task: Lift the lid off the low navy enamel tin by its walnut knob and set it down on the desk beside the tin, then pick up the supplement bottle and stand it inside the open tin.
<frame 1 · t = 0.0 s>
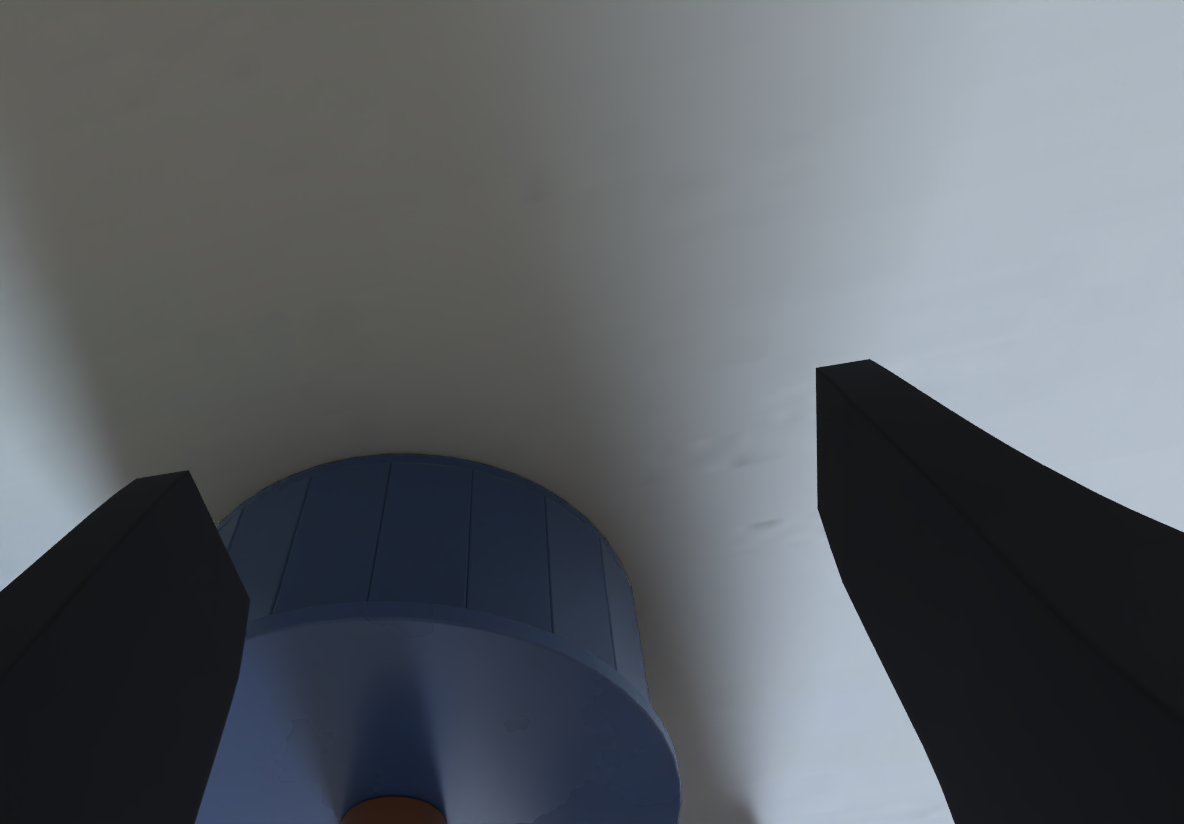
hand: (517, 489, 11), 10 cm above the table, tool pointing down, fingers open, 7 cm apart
tin lid: (396, 807, 21), point 5 cm above the table, touching tin
tin: (415, 633, 26), on the table
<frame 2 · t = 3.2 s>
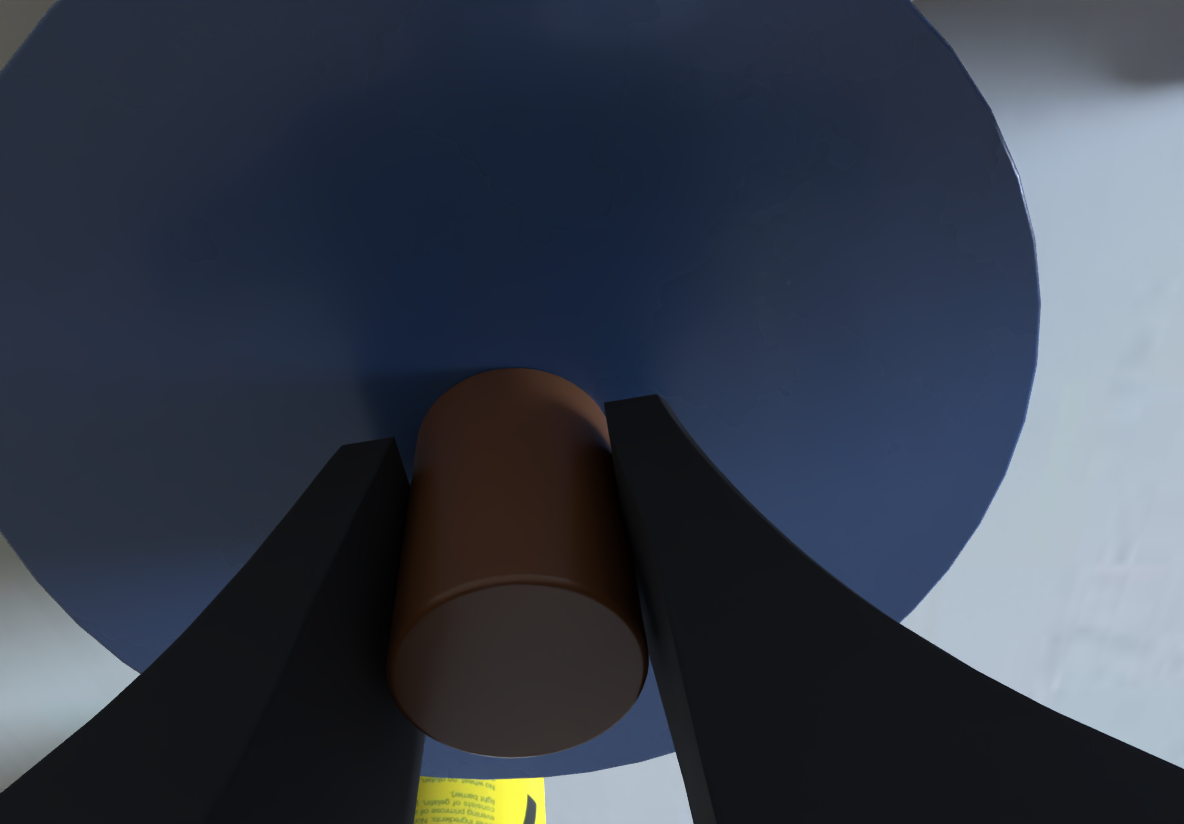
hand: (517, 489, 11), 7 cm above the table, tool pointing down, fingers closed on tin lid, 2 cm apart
supplement bottle: (448, 735, 24), on the table
tin lid: (515, 427, 12), point 5 cm above the table, touching gripper, tin
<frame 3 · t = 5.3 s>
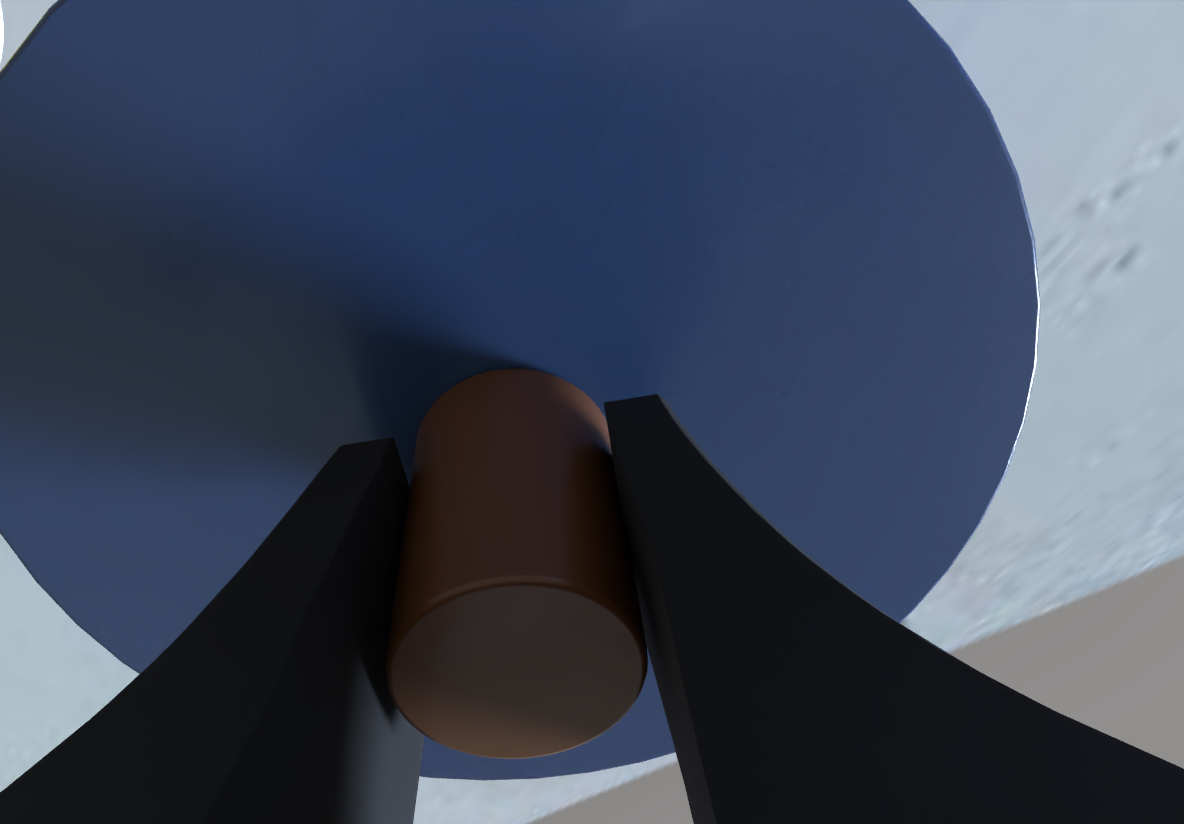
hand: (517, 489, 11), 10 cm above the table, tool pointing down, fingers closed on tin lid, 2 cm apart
tin lid: (514, 427, 12), point 9 cm above the table, touching gripper
when the fingers open (2 cm above the table, at t = 7.6 s): tin lid stays where it is, point 1 cm above the table.
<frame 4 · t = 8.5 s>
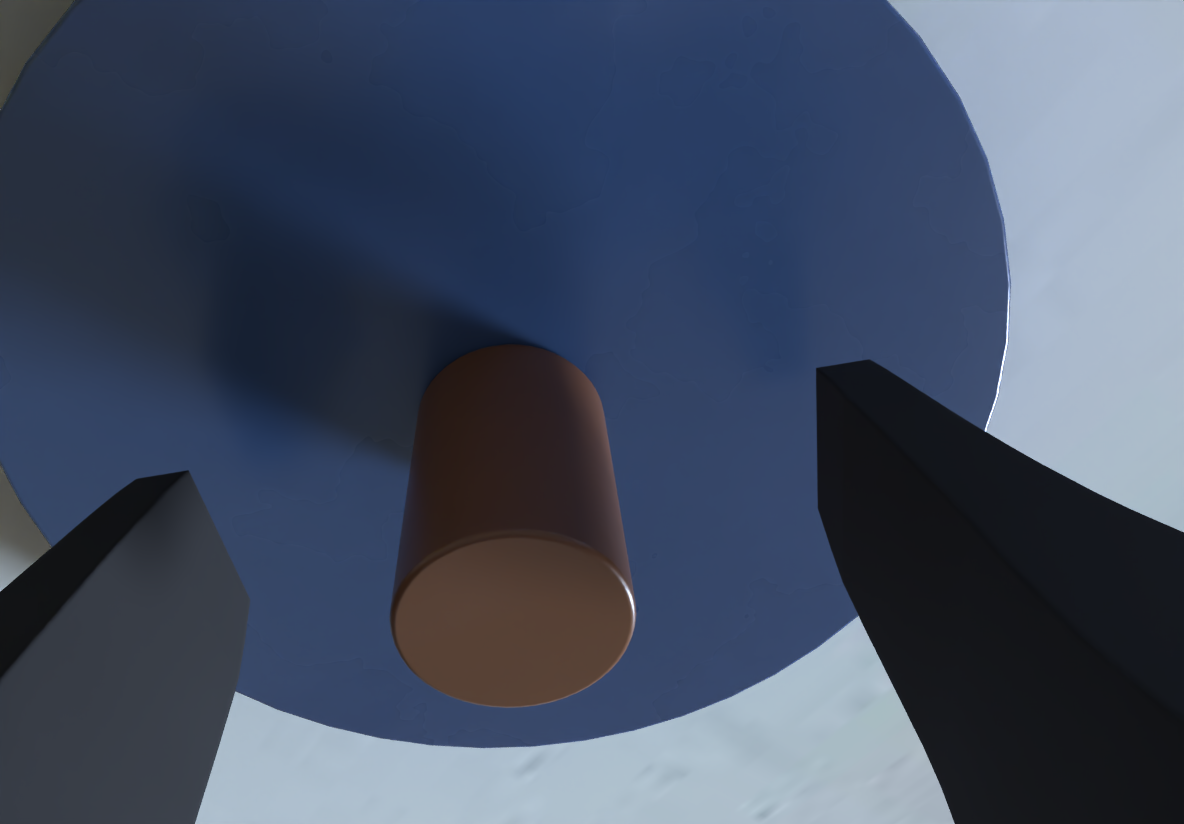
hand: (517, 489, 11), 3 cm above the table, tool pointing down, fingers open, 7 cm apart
tin lid: (511, 403, 13), point 1 cm above the table
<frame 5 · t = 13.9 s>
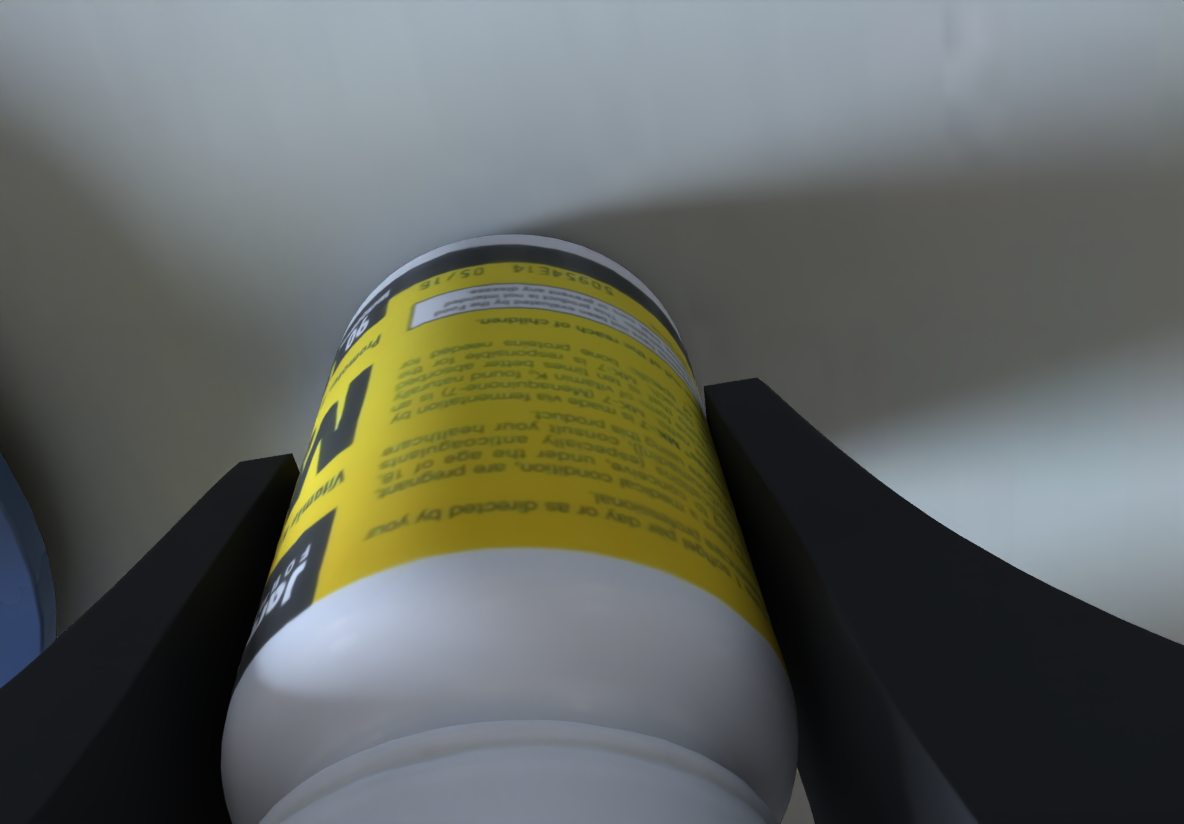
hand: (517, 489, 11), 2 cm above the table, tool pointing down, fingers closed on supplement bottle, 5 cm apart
supplement bottle: (513, 383, 13), on the table, touching gripper
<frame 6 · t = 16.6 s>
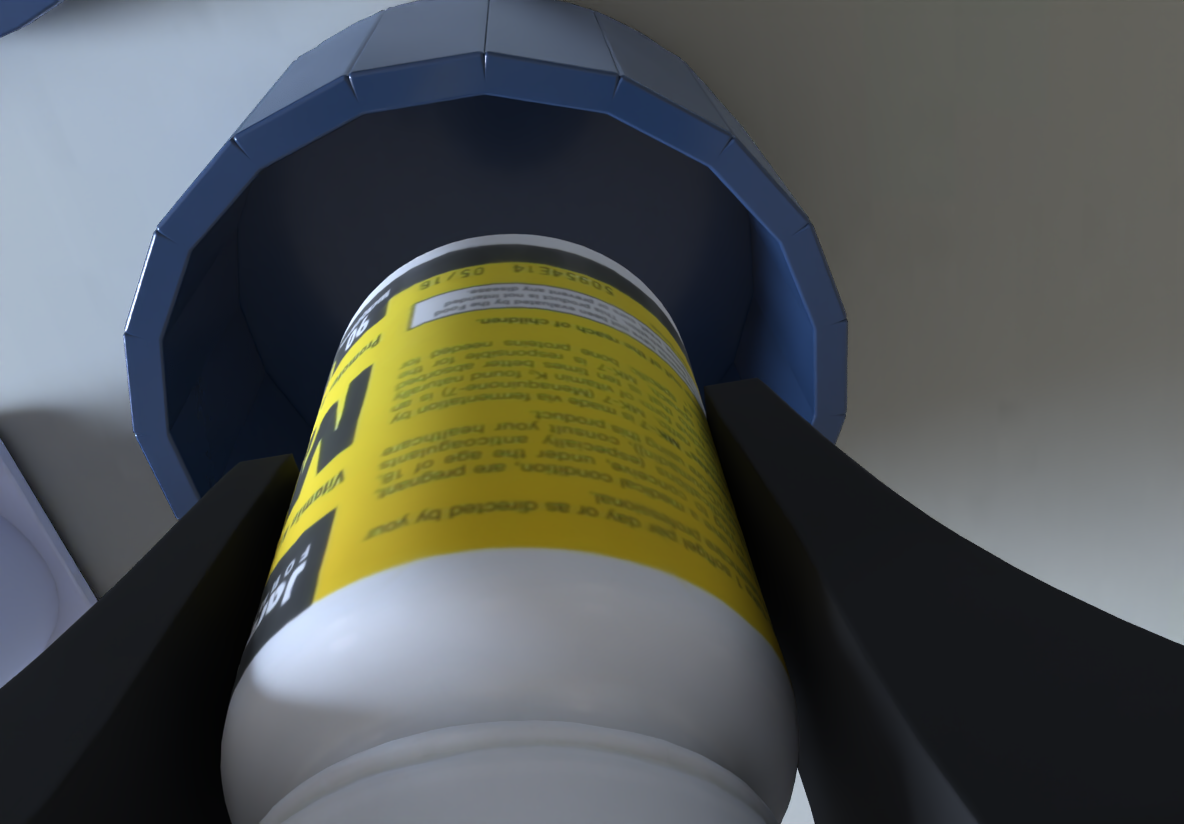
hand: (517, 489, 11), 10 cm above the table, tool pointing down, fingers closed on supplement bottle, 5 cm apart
supplement bottle: (513, 383, 13), point 8 cm above the table, touching gripper
tin: (501, 289, 21), on the table
when the fingers open (3 cm above the table, at t = 19.2 s): supplement bottle stays where it is, resting on tin.
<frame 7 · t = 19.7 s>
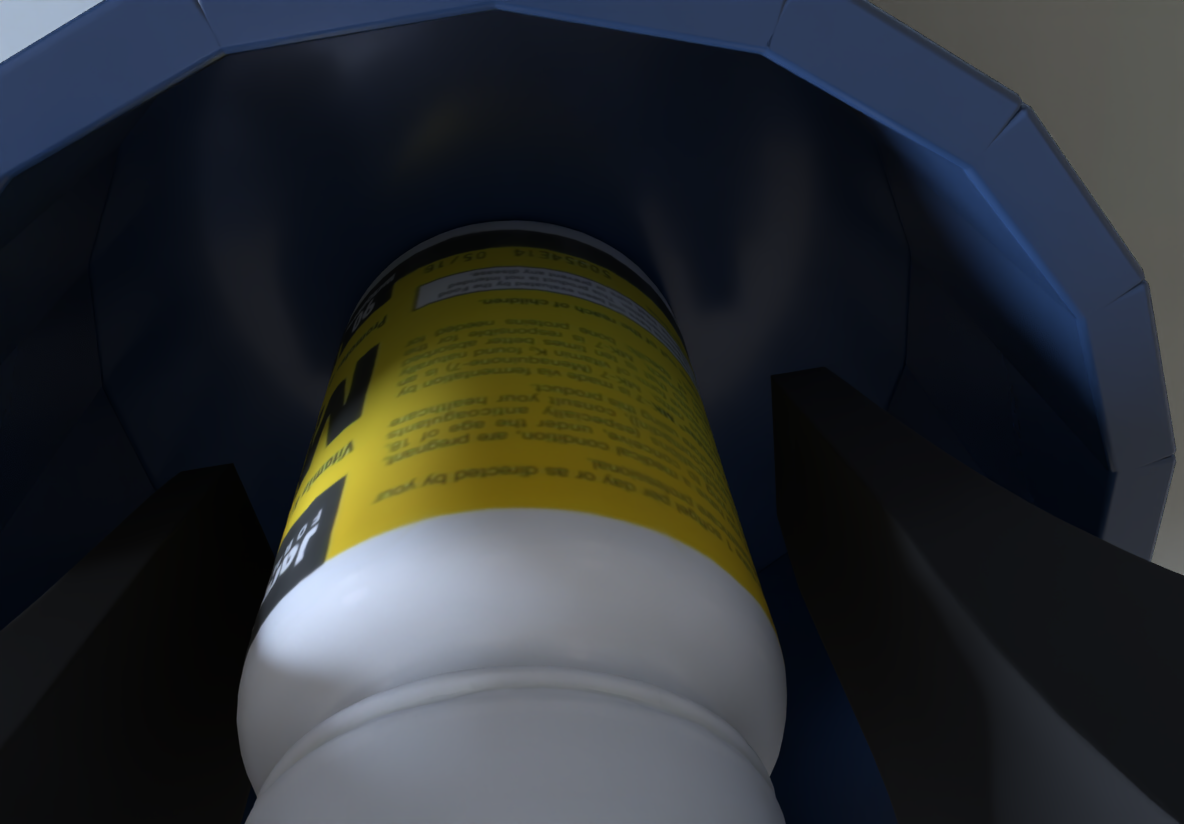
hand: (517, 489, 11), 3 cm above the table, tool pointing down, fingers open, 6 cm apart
supplement bottle: (514, 366, 13), resting on tin
tin: (516, 358, 13), on the table
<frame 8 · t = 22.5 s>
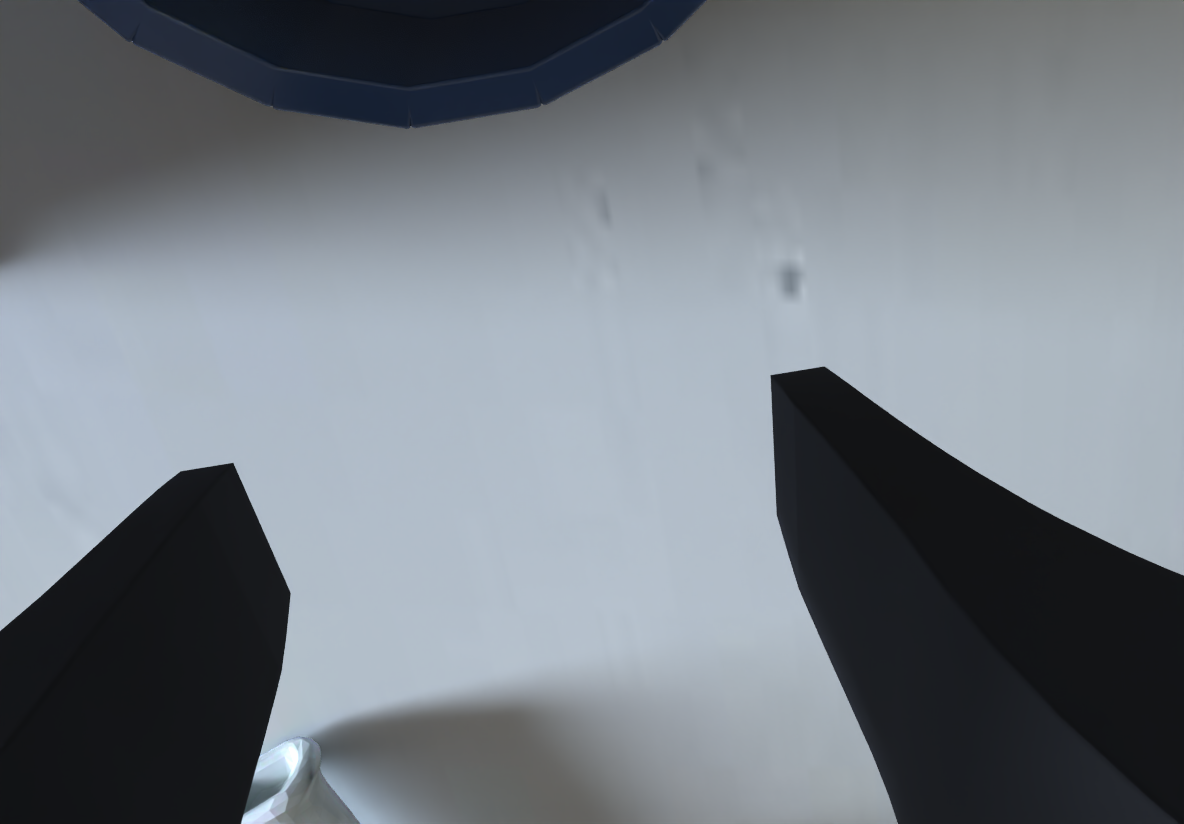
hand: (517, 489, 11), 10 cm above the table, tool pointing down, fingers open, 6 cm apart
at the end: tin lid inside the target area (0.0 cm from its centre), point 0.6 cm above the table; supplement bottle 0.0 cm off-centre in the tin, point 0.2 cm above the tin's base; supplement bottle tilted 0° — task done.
